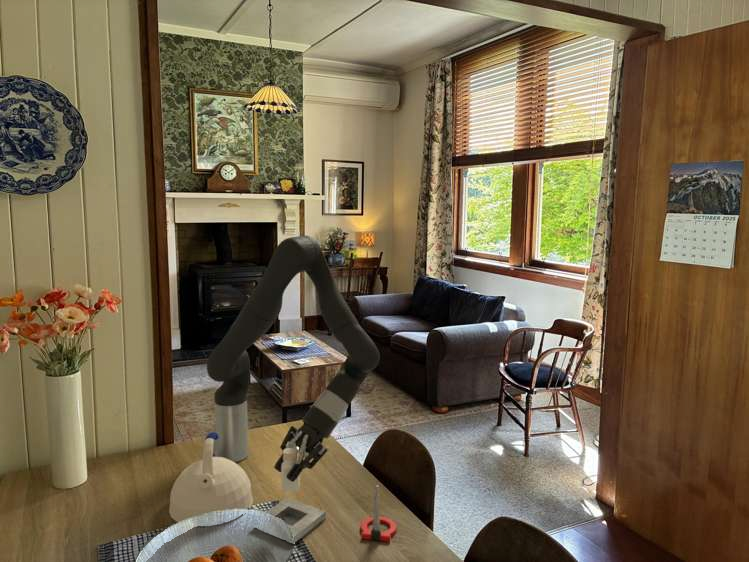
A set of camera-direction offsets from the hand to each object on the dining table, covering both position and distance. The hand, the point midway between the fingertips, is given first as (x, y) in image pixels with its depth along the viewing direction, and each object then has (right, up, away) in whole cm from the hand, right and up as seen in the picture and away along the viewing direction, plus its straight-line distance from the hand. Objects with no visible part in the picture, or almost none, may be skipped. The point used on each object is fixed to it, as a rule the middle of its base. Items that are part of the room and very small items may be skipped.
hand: (283, 474), depth 131 cm
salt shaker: (+1, -4, +2) cm, 5 cm away
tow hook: (+22, -14, +1) cm, 26 cm away
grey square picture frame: (+1, -13, +3) cm, 13 cm away
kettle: (-20, -12, +11) cm, 25 cm away
